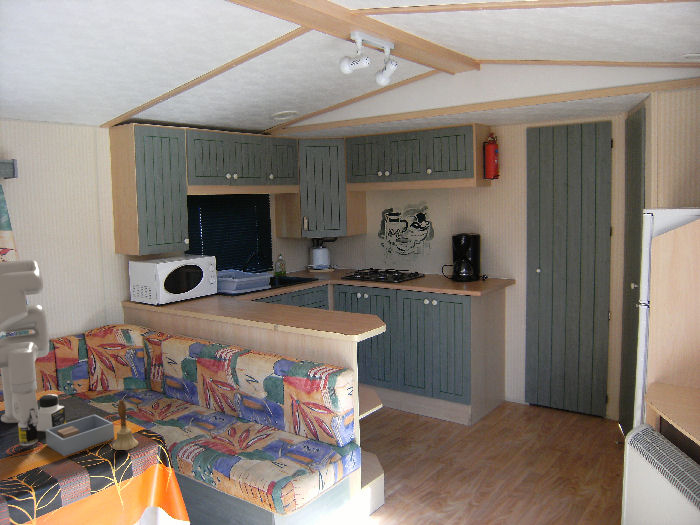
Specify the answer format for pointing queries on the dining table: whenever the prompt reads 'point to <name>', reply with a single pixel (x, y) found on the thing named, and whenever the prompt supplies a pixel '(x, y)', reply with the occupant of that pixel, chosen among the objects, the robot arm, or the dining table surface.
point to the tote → (80, 434)
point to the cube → (67, 432)
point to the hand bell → (124, 432)
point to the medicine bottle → (50, 413)
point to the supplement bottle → (24, 434)
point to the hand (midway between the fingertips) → (28, 436)
